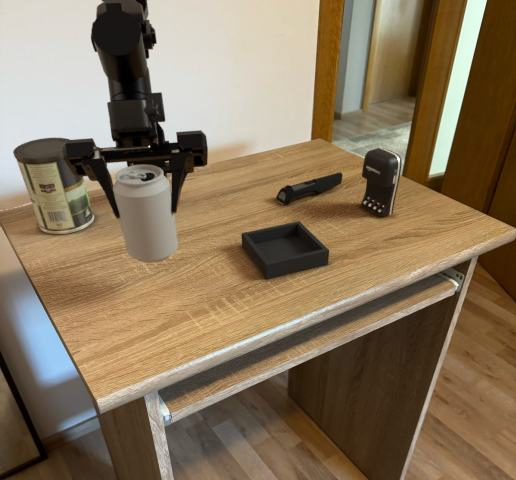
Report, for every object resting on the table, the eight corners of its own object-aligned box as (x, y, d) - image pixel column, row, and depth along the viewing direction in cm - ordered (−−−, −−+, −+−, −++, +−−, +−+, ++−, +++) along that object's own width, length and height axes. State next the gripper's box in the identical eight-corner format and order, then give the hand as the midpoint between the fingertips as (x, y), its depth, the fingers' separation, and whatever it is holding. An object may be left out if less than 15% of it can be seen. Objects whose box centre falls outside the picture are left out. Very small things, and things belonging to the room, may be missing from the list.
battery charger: (354, 206, 96) (362, 148, 89) (369, 202, 98) (377, 144, 90) (378, 220, 92) (388, 160, 84) (393, 215, 93) (404, 155, 86)
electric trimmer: (345, 189, 103) (347, 174, 101) (285, 206, 97) (286, 191, 95) (334, 183, 105) (335, 168, 103) (275, 199, 99) (275, 184, 97)
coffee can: (85, 205, 99) (66, 133, 89) (101, 225, 92) (82, 149, 83) (33, 218, 95) (7, 144, 85) (46, 240, 88) (19, 162, 79)
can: (175, 266, 69) (163, 184, 61) (122, 266, 69) (103, 184, 61) (182, 239, 74) (172, 160, 66) (133, 239, 74) (117, 161, 66)
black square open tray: (241, 247, 85) (241, 233, 83) (298, 234, 88) (299, 220, 86) (266, 279, 77) (266, 265, 76) (328, 264, 80) (329, 250, 79)
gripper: (42, 71, 58) (57, 200, 57) (199, 62, 60) (216, 186, 59) (68, 120, 69) (81, 228, 68) (200, 111, 71) (213, 215, 70)
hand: (146, 214), depth 66 cm, fingers closed on can, 7 cm apart
